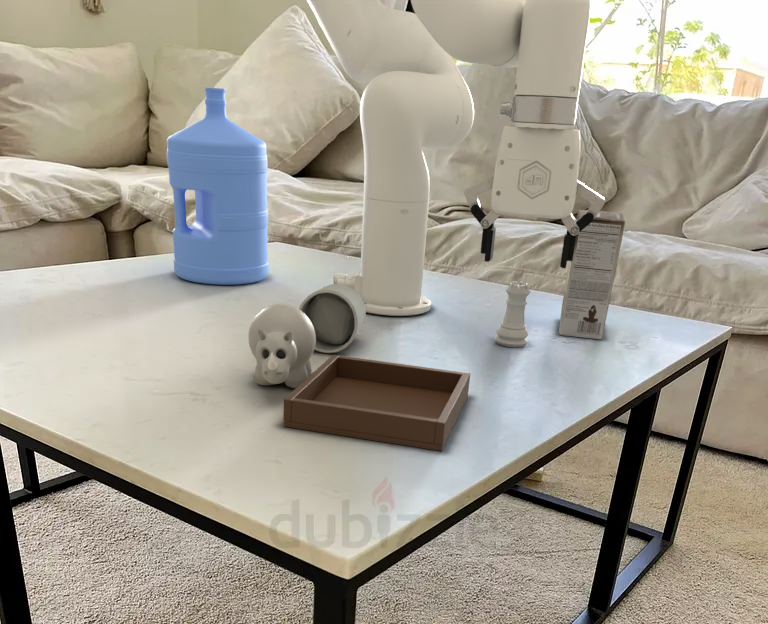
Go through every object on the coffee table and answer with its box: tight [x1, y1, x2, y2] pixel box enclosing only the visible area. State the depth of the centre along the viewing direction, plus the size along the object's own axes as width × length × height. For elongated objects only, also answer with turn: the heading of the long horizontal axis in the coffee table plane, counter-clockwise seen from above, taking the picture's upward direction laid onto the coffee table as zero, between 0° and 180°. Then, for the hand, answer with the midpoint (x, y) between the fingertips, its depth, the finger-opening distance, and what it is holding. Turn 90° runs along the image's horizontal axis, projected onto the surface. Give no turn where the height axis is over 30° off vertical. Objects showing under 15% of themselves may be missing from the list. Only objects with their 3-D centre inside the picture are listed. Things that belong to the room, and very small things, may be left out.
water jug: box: [166, 87, 270, 286], centre depth 125 cm, size 16×16×28 cm
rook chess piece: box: [494, 280, 531, 348], centre depth 104 cm, size 4×4×8 cm
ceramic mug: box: [298, 283, 367, 354], centre depth 99 cm, size 11×8×8 cm
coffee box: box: [558, 209, 626, 340], centre depth 111 cm, size 9×6×16 cm
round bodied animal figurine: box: [247, 303, 316, 389], centre depth 82 cm, size 7×12×8 cm, turn 178°
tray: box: [283, 354, 471, 452], centre depth 80 cm, size 16×16×3 cm
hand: (525, 263), depth 101 cm, fingers open, 9 cm apart
